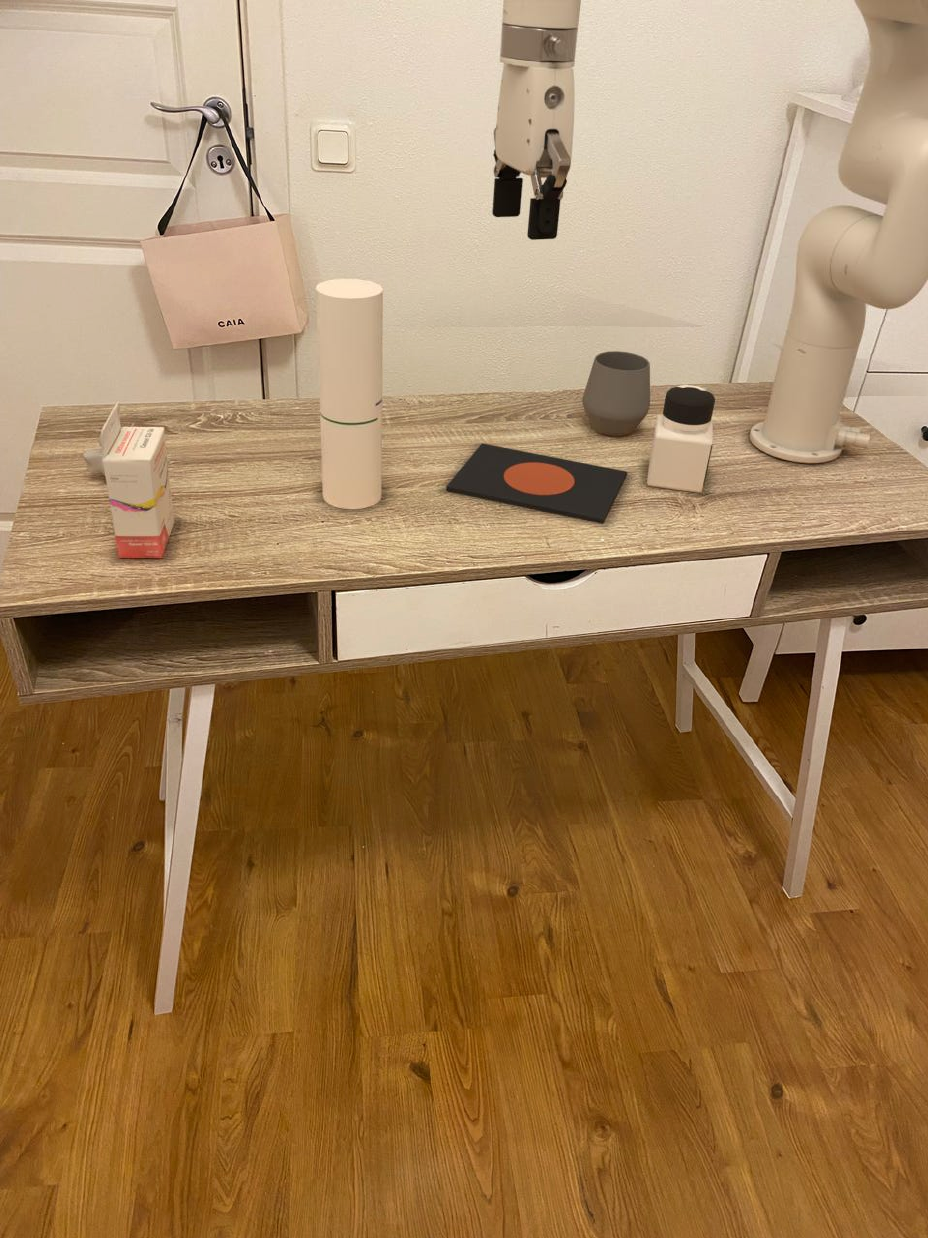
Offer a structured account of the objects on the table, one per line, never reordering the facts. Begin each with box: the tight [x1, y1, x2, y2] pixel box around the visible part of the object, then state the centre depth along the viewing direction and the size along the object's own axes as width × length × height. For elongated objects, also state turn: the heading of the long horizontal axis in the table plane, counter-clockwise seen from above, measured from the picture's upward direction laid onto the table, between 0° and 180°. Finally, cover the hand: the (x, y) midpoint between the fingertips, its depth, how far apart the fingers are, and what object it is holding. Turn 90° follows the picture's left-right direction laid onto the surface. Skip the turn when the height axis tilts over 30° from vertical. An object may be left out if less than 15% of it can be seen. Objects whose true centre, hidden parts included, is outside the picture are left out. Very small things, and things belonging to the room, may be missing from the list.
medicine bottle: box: [646, 384, 716, 494], centre depth 127 cm, size 7×7×12 cm
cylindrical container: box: [315, 278, 384, 510], centre depth 115 cm, size 7×7×25 cm
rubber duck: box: [82, 422, 114, 477], centre depth 120 cm, size 5×7×8 cm
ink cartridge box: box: [100, 401, 175, 559], centre depth 106 cm, size 9×5×15 cm, turn 5°
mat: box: [445, 443, 628, 524], centre depth 127 cm, size 20×14×1 cm
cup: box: [581, 350, 651, 437], centre depth 139 cm, size 10×9×10 cm
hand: (523, 226), depth 109 cm, fingers open, 9 cm apart
